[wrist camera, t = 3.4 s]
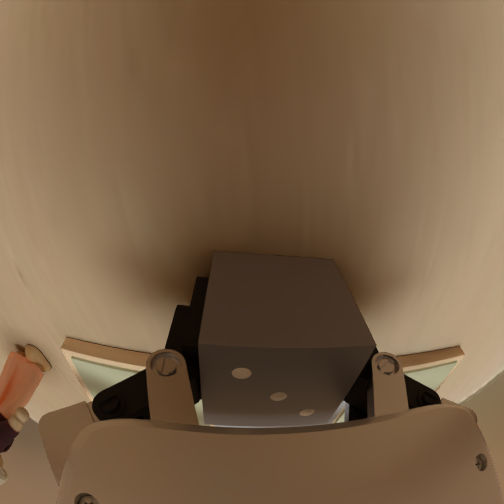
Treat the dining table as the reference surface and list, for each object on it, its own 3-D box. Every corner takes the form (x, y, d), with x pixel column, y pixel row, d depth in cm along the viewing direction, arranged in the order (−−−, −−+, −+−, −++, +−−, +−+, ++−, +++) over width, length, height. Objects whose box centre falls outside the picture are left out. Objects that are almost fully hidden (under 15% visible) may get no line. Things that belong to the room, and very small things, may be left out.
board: (66, 337, 14) (59, 350, 13) (459, 345, 16) (466, 356, 15) (105, 407, 18) (101, 418, 17) (409, 408, 20) (413, 417, 19)
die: (214, 251, 11) (197, 346, 7) (332, 259, 11) (377, 347, 7) (212, 337, 13) (204, 426, 9) (308, 341, 14) (327, 424, 9)
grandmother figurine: (23, 328, 13) (-46, 466, 2) (61, 362, 15) (9, 505, 4) (9, 357, 16) (-38, 460, 4) (39, 383, 17) (1, 488, 6)
